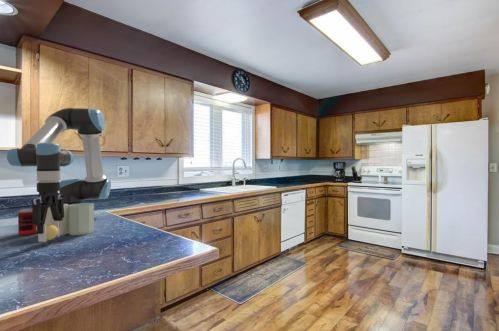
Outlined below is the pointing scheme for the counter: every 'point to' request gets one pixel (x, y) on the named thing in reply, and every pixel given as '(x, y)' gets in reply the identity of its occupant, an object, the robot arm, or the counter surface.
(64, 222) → the crock cream
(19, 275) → the counter surface
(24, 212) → the canned food
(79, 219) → the crock sage
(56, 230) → the ball loose
